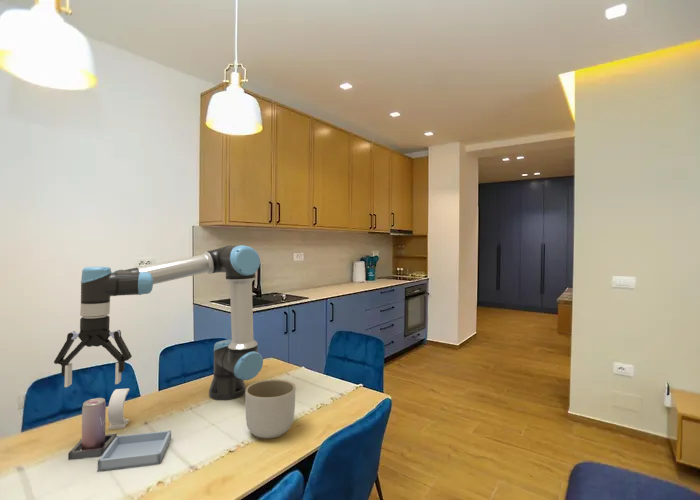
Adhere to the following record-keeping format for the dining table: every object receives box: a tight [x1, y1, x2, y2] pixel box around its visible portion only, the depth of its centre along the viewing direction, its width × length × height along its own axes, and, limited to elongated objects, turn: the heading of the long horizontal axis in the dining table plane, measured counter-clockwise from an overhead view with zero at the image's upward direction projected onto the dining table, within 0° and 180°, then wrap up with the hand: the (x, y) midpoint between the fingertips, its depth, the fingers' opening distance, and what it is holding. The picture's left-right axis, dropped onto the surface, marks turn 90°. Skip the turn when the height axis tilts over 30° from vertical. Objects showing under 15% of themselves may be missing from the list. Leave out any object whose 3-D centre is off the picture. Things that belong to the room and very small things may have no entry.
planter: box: [244, 378, 297, 440], centre depth 125 cm, size 17×17×15 cm
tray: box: [97, 429, 172, 473], centre depth 110 cm, size 16×14×3 cm
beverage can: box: [81, 397, 107, 450], centre depth 112 cm, size 6×6×15 cm
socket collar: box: [67, 433, 118, 461], centre depth 112 cm, size 10×10×2 cm
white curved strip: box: [107, 388, 131, 430], centre depth 127 cm, size 5×6×12 cm
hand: (93, 384), depth 112 cm, fingers open, 13 cm apart
